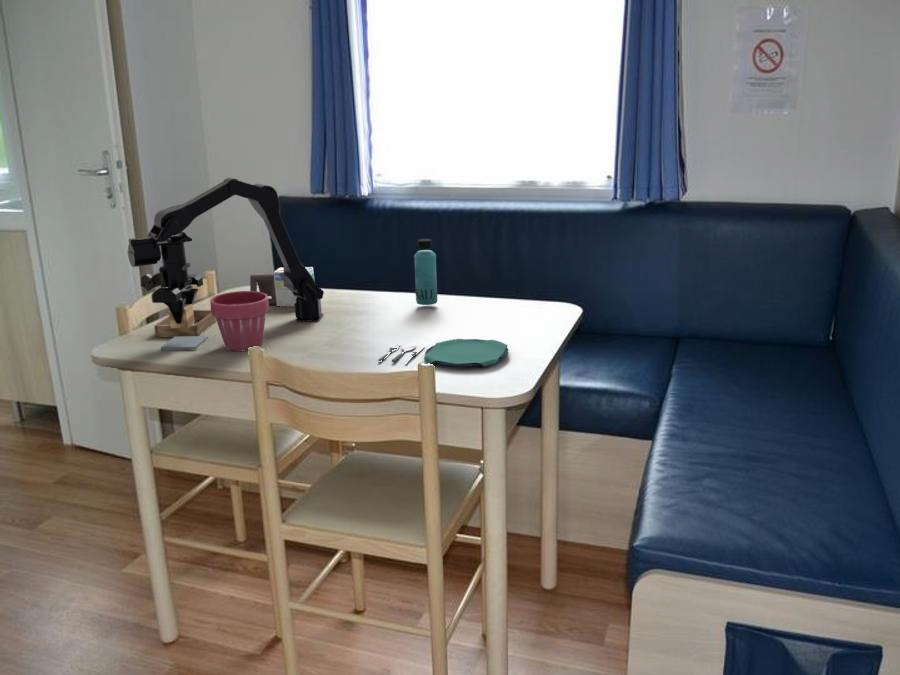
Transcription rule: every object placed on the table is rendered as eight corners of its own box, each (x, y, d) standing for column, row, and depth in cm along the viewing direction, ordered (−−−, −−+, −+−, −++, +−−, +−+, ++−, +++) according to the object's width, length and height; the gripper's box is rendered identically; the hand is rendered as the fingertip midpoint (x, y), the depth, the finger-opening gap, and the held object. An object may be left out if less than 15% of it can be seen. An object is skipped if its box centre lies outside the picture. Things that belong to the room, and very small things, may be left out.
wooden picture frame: (218, 319, 233) (217, 309, 232) (198, 336, 218) (196, 325, 217) (178, 320, 234) (177, 310, 233) (155, 336, 219) (154, 326, 218)
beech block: (194, 323, 212) (192, 304, 210) (188, 328, 208) (185, 309, 206) (177, 323, 212) (175, 304, 211) (170, 328, 208) (168, 309, 207)
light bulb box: (316, 301, 250) (314, 266, 246) (311, 307, 243) (308, 271, 240) (282, 301, 251) (279, 266, 247) (276, 307, 244) (272, 271, 241)
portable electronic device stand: (248, 306, 246) (245, 279, 243) (254, 299, 253) (251, 273, 251) (278, 305, 246) (275, 278, 243) (283, 299, 253) (280, 272, 251)
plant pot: (284, 343, 210) (279, 295, 206) (238, 358, 199) (232, 307, 196) (249, 334, 218) (244, 287, 215) (204, 347, 208) (198, 299, 204)
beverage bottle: (430, 303, 243) (428, 236, 237) (442, 307, 238) (440, 239, 232) (411, 306, 240) (408, 239, 234) (423, 311, 234) (420, 242, 228)
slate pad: (208, 339, 215) (208, 336, 215) (195, 349, 207) (195, 346, 207) (175, 339, 216) (175, 336, 216) (161, 350, 208) (160, 347, 207)
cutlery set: (499, 374, 184) (498, 364, 183) (373, 368, 192) (372, 359, 191) (516, 347, 202) (516, 339, 201) (400, 343, 210) (400, 334, 209)
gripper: (158, 253, 214) (166, 311, 219) (126, 269, 197) (136, 332, 202) (200, 253, 214) (207, 310, 218) (171, 269, 196) (179, 331, 201)
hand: (182, 320), depth 210 cm, fingers closed on beech block, 4 cm apart
